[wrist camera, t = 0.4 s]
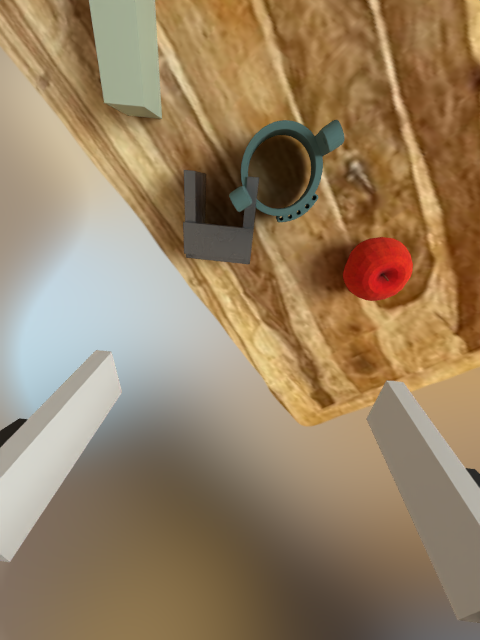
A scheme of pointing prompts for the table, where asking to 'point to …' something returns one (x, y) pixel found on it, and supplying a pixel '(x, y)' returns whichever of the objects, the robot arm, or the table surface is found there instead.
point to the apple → (377, 268)
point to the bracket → (316, 149)
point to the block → (128, 55)
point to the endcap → (212, 237)
